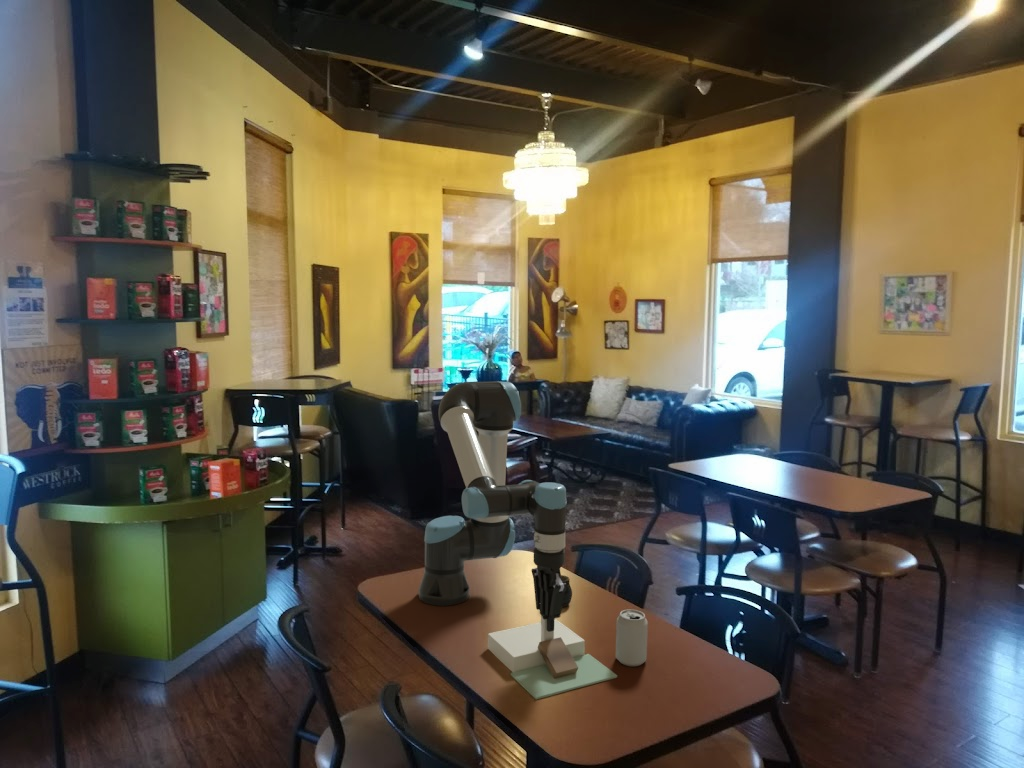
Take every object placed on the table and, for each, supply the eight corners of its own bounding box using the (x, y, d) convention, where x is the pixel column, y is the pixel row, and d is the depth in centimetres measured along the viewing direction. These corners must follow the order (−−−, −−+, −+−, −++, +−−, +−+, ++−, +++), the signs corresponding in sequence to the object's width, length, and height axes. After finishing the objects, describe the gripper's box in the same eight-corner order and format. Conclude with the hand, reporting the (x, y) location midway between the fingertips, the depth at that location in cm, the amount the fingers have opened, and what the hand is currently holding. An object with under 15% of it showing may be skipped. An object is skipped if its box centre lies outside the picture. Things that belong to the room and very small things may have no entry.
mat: (510, 675, 170) (510, 673, 170) (588, 655, 180) (588, 653, 180) (535, 699, 159) (536, 697, 159) (617, 677, 169) (617, 675, 169)
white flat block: (487, 648, 183) (488, 633, 182) (555, 633, 192) (555, 618, 192) (513, 673, 170) (514, 657, 170) (584, 655, 180) (584, 640, 179)
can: (627, 670, 173) (629, 622, 171) (609, 657, 179) (610, 610, 178) (652, 664, 176) (654, 616, 175) (633, 651, 183) (635, 605, 182)
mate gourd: (559, 611, 206) (560, 577, 205) (541, 603, 212) (541, 570, 211) (577, 605, 211) (577, 571, 210) (558, 597, 216) (559, 565, 215)
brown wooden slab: (537, 647, 174) (539, 642, 173) (558, 642, 177) (560, 637, 176) (554, 678, 167) (556, 673, 166) (576, 673, 170) (578, 667, 169)
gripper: (522, 542, 177) (521, 634, 180) (549, 558, 166) (547, 656, 168) (548, 538, 181) (546, 628, 183) (577, 553, 169) (574, 649, 172)
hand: (547, 641), depth 176 cm, fingers closed
